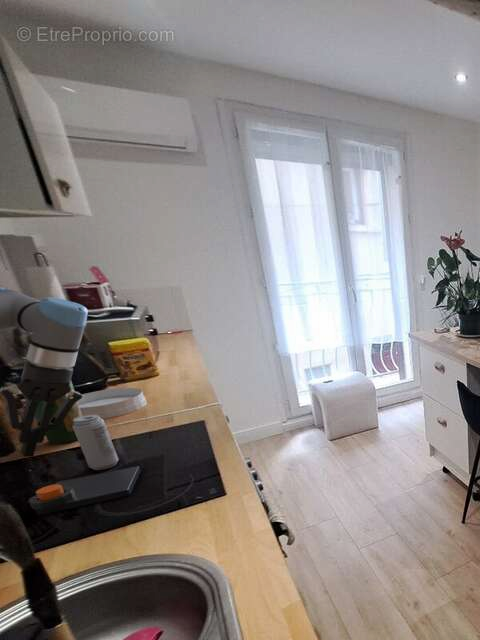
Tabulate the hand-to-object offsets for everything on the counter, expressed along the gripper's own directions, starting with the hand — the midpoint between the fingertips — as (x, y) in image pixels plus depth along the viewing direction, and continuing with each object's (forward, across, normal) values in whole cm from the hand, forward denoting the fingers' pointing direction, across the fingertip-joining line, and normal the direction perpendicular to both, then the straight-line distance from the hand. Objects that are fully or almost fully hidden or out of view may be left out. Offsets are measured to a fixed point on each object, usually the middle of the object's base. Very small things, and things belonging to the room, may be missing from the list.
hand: (27, 454), depth 99 cm
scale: (+7, -10, +10) cm, 16 cm away
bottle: (+13, -18, -37) cm, 43 cm away
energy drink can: (+7, -17, -5) cm, 19 cm away
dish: (+12, -32, -60) cm, 69 cm away
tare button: (+6, -3, +11) cm, 13 cm away
